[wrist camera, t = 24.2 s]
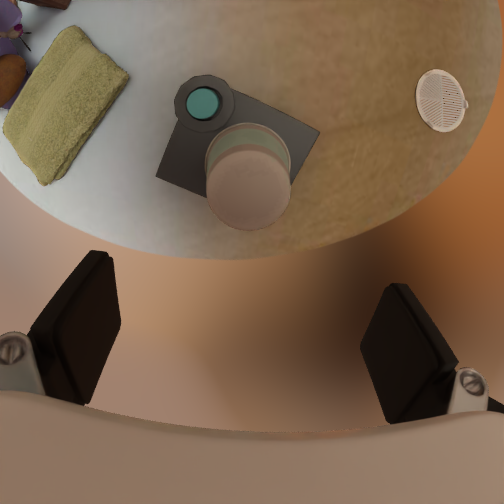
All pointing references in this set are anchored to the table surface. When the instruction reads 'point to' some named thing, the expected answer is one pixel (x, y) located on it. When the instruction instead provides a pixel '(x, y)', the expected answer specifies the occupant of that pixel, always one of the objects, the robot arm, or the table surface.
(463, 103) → the drain cover
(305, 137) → the grey flat block
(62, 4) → the box
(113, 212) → the table surface
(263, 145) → the coffee cup
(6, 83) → the potato
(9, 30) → the butterfly
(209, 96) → the button
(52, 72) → the washcloth
